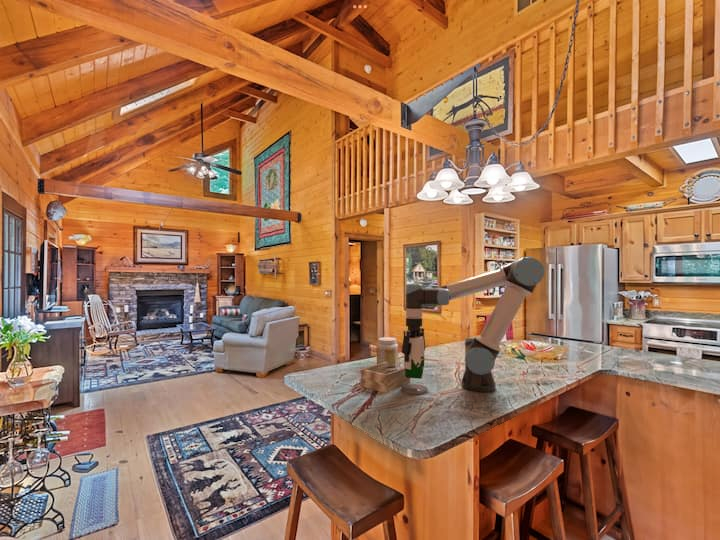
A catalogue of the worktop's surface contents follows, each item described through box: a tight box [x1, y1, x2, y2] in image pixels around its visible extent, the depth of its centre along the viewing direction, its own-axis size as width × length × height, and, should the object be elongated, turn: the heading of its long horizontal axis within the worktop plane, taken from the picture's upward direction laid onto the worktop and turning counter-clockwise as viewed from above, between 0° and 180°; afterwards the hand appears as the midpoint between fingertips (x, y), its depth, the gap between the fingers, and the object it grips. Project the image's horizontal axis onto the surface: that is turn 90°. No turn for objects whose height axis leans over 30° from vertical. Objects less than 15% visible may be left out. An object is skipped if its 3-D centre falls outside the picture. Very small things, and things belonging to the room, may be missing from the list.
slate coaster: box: [400, 383, 429, 396], centre depth 159 cm, size 12×12×1 cm
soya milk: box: [403, 336, 425, 380], centre depth 160 cm, size 9×9×20 cm
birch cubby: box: [360, 362, 411, 394], centre depth 168 cm, size 15×20×8 cm
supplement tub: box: [376, 336, 399, 372], centre depth 197 cm, size 12×12×17 cm
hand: (414, 366), depth 160 cm, fingers closed on soya milk, 9 cm apart
